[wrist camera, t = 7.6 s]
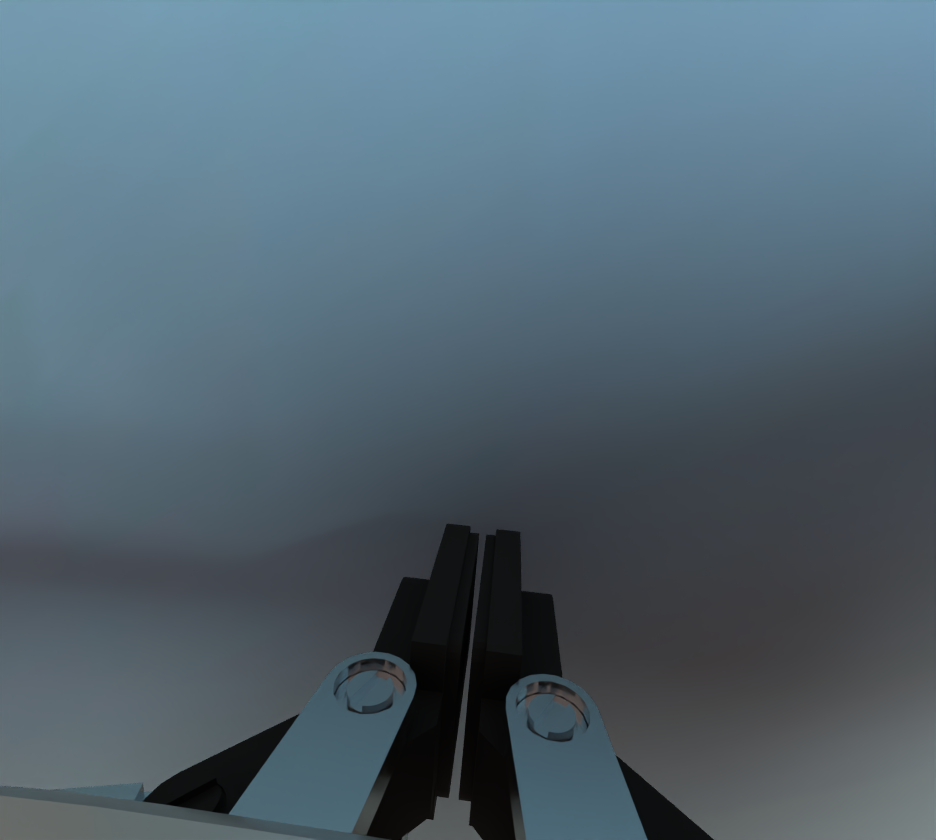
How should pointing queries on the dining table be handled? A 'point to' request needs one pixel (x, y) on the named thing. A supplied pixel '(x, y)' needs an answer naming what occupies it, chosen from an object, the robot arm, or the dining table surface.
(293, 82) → the dining table surface
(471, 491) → the dining table surface
